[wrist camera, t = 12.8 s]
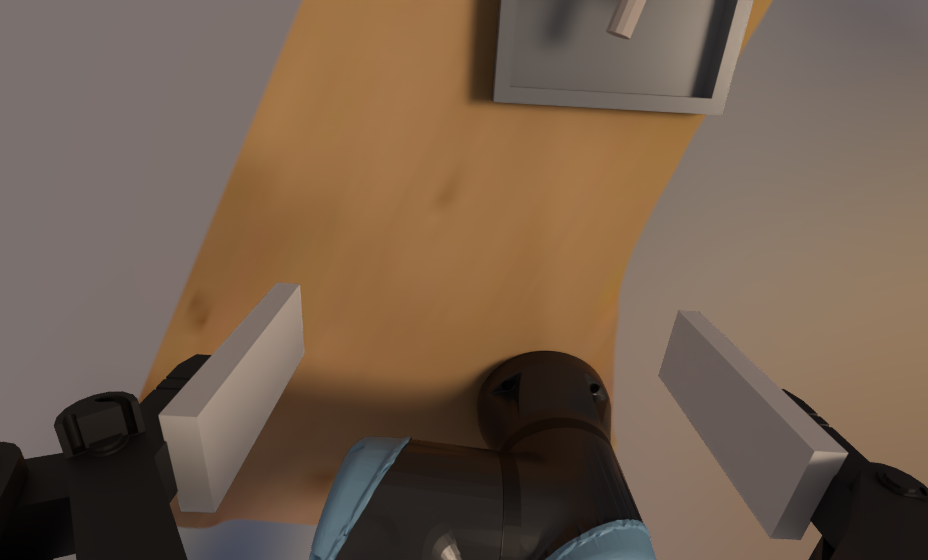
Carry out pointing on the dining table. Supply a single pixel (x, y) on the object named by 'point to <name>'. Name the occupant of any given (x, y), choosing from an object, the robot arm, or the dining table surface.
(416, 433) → the dining table surface
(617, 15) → the pipe connector
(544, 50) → the tray
